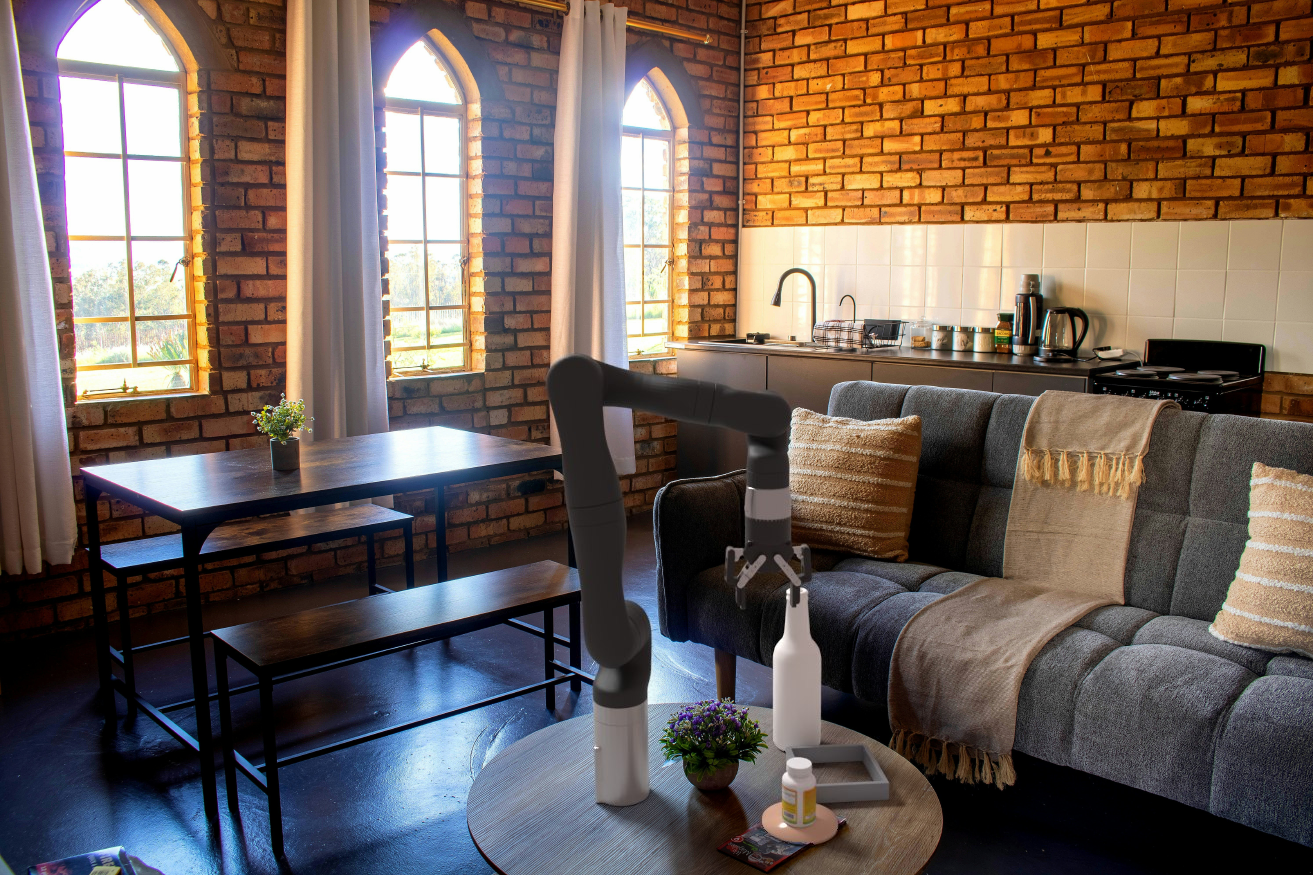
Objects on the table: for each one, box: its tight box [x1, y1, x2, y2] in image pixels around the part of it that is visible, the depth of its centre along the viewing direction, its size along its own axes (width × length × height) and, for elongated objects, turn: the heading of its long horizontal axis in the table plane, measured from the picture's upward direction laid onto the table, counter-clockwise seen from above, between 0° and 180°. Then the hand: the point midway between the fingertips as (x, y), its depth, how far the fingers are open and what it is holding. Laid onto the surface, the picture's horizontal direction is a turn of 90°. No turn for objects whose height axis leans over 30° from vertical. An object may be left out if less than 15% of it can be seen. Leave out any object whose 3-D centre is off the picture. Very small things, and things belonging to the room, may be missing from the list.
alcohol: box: [772, 587, 822, 753], centre depth 186 cm, size 9×9×30 cm
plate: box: [761, 801, 839, 845], centre depth 161 cm, size 12×12×1 cm
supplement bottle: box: [781, 757, 817, 828], centre depth 160 cm, size 5×5×10 cm
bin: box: [785, 742, 890, 804], centre depth 175 cm, size 15×15×3 cm
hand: (767, 607), depth 168 cm, fingers open, 8 cm apart
